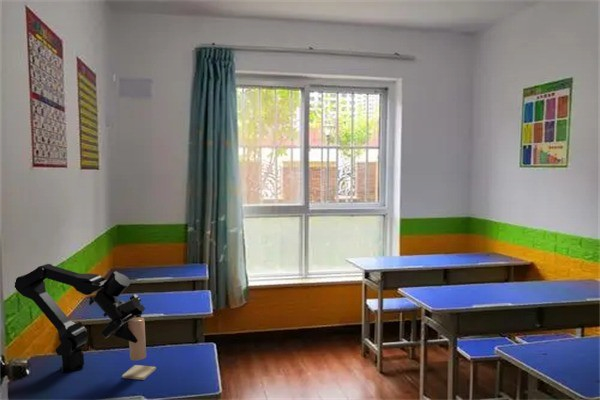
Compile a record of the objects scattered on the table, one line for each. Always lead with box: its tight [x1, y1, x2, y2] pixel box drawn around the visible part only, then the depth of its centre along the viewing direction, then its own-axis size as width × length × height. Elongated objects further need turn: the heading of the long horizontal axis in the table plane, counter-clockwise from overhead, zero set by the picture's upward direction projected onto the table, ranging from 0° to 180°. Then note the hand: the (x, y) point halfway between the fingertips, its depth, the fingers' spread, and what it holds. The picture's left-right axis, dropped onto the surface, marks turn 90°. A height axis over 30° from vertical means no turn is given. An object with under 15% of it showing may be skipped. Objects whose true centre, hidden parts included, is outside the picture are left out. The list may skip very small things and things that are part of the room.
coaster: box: [121, 364, 157, 381], centre depth 162 cm, size 8×8×1 cm
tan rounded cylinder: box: [127, 316, 147, 361], centre depth 161 cm, size 5×5×13 cm
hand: (141, 338), depth 161 cm, fingers closed on tan rounded cylinder, 5 cm apart
